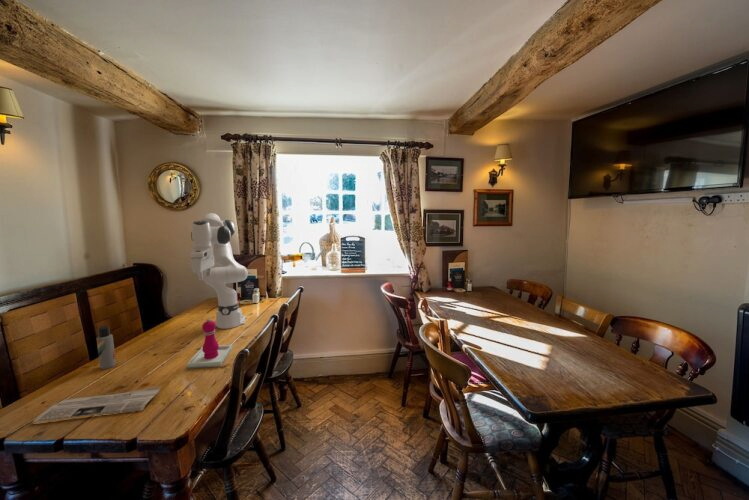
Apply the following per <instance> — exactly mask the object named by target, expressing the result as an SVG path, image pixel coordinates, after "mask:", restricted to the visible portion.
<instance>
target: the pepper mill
mask: <svg viewBox="0 0 749 500" xmlns="http://www.w3.org/2000/svg"><path fill="white" fill-rule="evenodd" d="M215 323H216V321H213V320H211V318H210V317H209V318H207V319H206V321H205V322H203V323H202V326H201V327H202V328H201V329H202V330H203V335H204V342H203V345H202V347H203V352H204V353H205V354H204V358H205V359H212V358H215V357H217V356H218V351H217V350H218V348H219V346H220V345H219V343H218V341H217V339H216V336H215V333H216V328H217V327H216V324H215Z"/></svg>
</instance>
